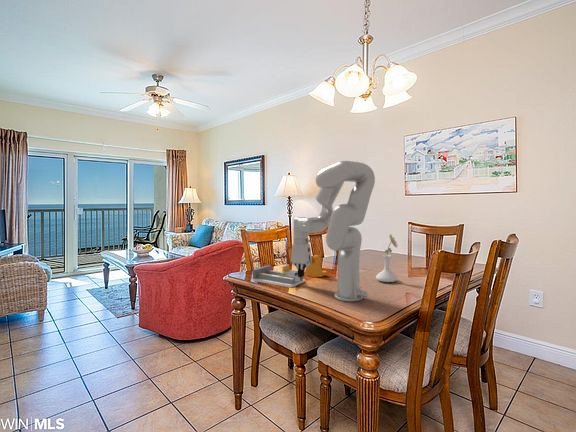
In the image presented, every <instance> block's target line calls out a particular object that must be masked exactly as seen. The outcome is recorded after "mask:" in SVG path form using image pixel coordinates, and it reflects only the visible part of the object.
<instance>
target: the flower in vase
mask: <svg viewBox="0 0 576 432" xmlns="http://www.w3.org/2000/svg"><path fill="white" fill-rule="evenodd" d="M388 236H389V237H388V238H389V239H390V243H389V245H388V247H387V249H385V250H384V253H386V254H382V255H381V256H382V258H383V261H384V268H383V269H382V271H380V272H378V273H377V274H376V275H375V278H376V280H378V281H379V282H384V283H393V282H396V281H398V280H399V278H398V276H397V275H396V274H395V273H394V272H393V271H392V270H391V269H390V260H391V258H392V257H393V256H392V254H389V253H392V252H393V251H392V248H390V246H391V244H392V245H393V246H394V247H395V248H398V246H399V245H398V244H397V241H396V239H395V237H393V235H392V234H389V235H388Z"/></svg>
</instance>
